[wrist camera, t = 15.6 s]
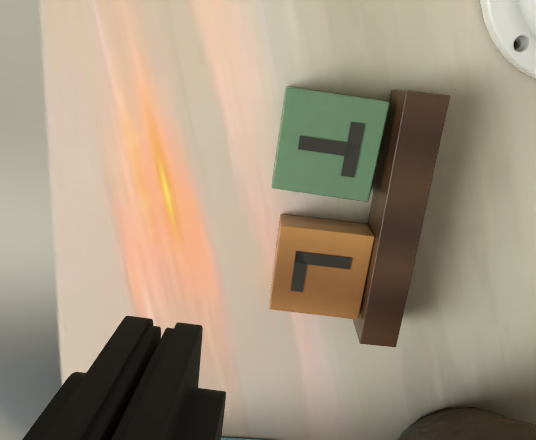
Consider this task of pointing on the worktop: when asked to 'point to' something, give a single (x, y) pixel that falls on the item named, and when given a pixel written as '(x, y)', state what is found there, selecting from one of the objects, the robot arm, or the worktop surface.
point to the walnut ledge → (399, 209)
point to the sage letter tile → (328, 143)
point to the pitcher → (468, 426)
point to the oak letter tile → (320, 266)
